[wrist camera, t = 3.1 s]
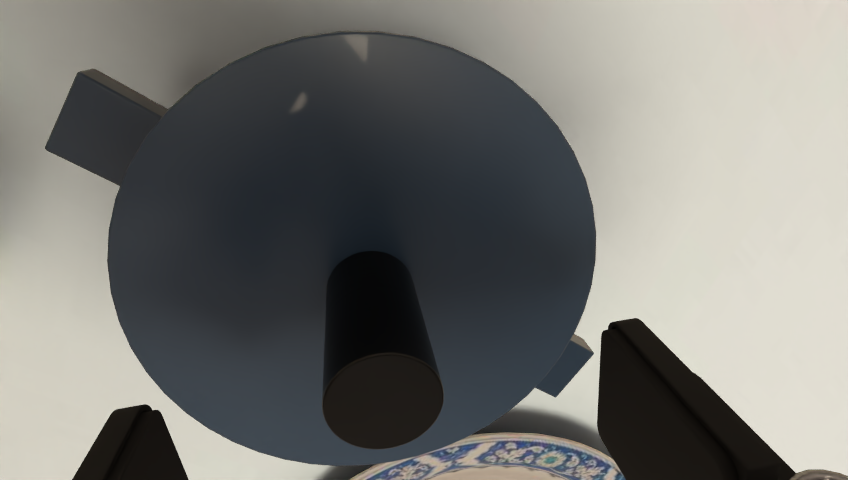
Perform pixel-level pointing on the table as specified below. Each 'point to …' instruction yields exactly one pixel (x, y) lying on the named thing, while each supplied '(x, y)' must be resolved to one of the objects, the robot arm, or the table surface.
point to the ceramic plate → (502, 461)
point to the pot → (124, 133)
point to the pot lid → (351, 248)
